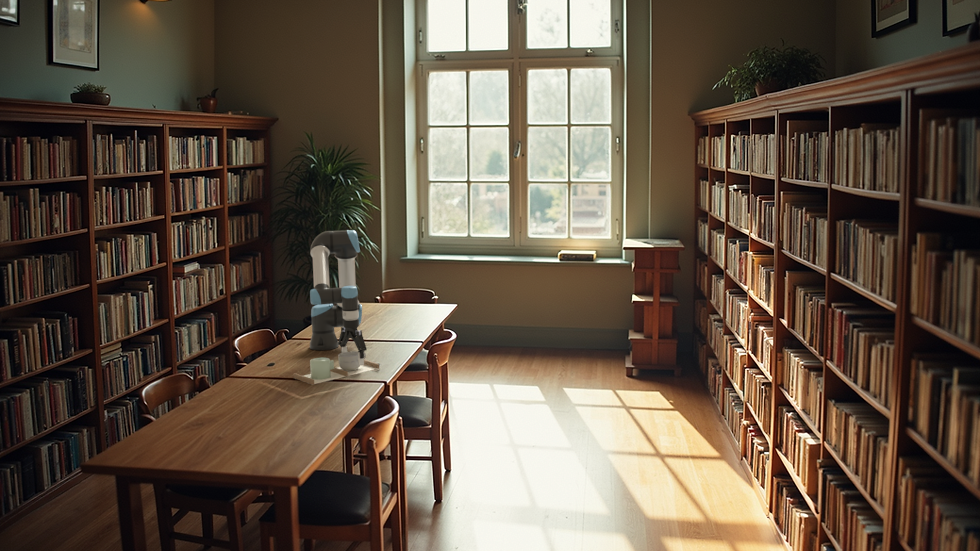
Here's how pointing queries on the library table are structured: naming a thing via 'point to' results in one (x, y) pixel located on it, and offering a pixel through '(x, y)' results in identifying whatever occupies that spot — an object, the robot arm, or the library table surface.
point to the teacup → (349, 360)
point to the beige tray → (339, 373)
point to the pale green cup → (321, 368)
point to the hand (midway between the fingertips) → (352, 362)
